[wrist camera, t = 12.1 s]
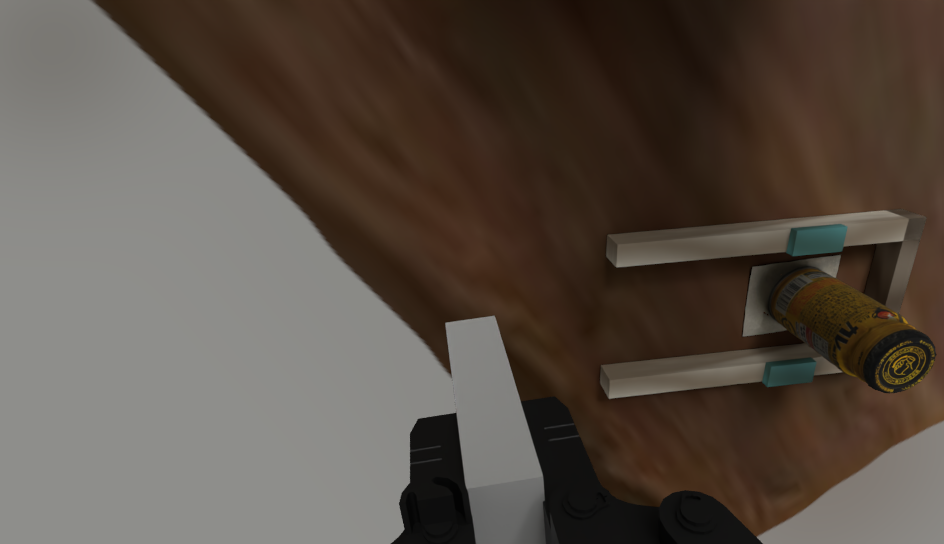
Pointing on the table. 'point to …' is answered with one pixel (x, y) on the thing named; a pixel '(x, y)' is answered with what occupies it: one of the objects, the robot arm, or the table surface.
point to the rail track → (792, 236)
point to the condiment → (838, 323)
